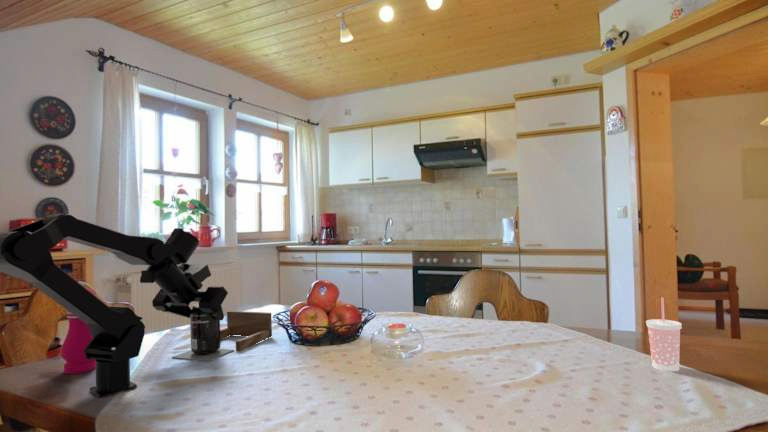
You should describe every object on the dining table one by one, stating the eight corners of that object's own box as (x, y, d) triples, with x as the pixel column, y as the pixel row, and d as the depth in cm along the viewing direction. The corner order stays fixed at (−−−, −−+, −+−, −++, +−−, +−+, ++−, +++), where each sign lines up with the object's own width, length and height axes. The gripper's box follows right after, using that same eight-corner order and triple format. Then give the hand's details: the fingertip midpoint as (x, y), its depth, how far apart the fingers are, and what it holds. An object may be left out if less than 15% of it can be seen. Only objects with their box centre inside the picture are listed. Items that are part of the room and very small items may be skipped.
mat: (208, 361, 102) (208, 360, 102) (172, 358, 106) (172, 357, 106) (234, 350, 111) (234, 349, 111) (199, 348, 115) (199, 346, 115)
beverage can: (210, 346, 114) (208, 300, 114) (226, 350, 110) (224, 302, 110) (185, 353, 108) (183, 305, 108) (201, 358, 104) (199, 307, 104)
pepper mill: (80, 375, 95) (78, 283, 96) (52, 374, 97) (51, 283, 97) (107, 365, 102) (105, 279, 103) (81, 364, 104) (79, 279, 104)
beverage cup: (652, 360, 92) (649, 294, 92) (687, 366, 88) (683, 296, 88) (644, 368, 88) (640, 298, 88) (680, 374, 83) (676, 301, 84)
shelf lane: (239, 351, 110) (239, 323, 110) (195, 347, 115) (194, 320, 115) (271, 337, 123) (271, 312, 123) (230, 334, 128) (229, 310, 128)
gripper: (221, 252, 102) (252, 292, 112) (161, 253, 109) (195, 291, 119) (196, 291, 95) (232, 330, 105) (133, 289, 101) (173, 326, 111)
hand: (208, 317), depth 110 cm, fingers open, 9 cm apart
